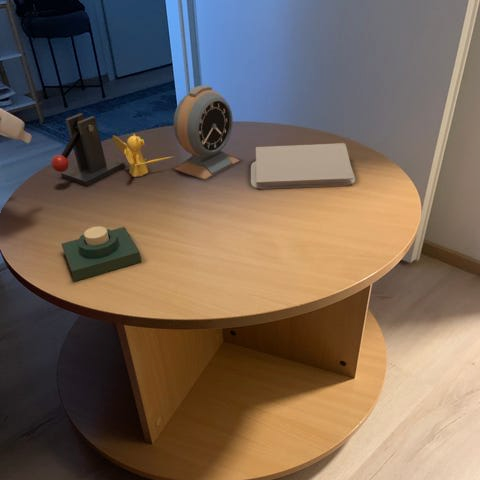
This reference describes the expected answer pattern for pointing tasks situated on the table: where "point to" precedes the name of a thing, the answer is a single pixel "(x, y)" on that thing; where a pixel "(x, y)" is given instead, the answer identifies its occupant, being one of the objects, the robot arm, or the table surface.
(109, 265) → the control block
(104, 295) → the table surface
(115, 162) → the switch bracket
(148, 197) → the table surface
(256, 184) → the book
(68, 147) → the switch lever
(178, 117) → the alarm clock
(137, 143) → the figurine
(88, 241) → the button
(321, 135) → the table surface
